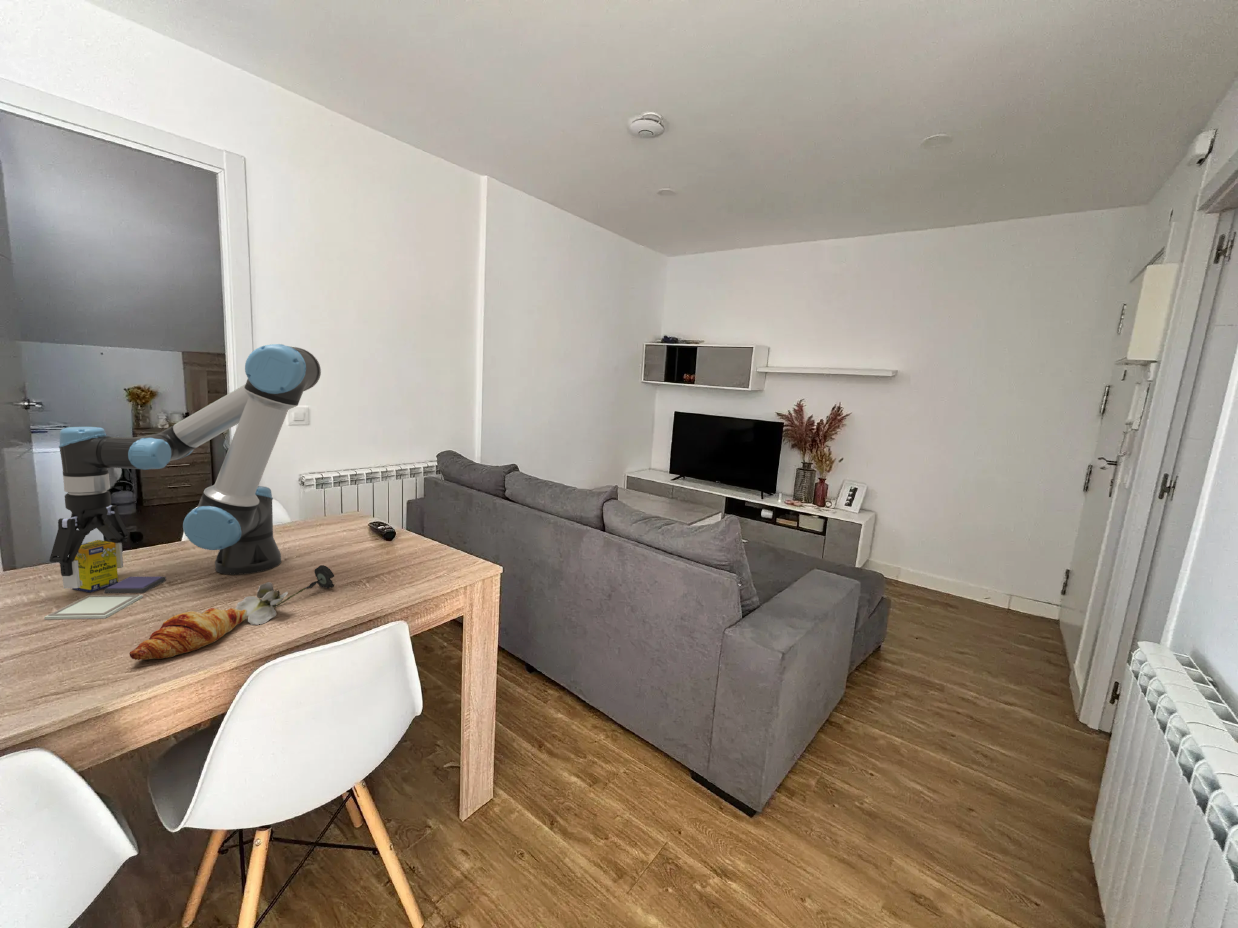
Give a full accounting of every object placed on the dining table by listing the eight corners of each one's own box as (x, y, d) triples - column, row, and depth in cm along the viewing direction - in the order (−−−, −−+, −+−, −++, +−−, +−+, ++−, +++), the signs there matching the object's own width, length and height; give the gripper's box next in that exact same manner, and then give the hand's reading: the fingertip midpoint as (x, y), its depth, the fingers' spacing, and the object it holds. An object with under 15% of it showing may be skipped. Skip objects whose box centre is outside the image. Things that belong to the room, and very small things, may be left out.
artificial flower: (342, 594, 131) (345, 563, 127) (254, 642, 110) (254, 606, 107) (318, 580, 133) (320, 548, 130) (227, 623, 113) (227, 587, 109)
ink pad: (165, 580, 129) (165, 575, 129) (143, 592, 121) (142, 588, 121) (129, 580, 127) (129, 575, 127) (104, 593, 120) (103, 588, 119)
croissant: (237, 631, 113) (224, 598, 113) (267, 619, 110) (253, 586, 110) (123, 680, 93) (107, 640, 93) (156, 667, 90) (140, 626, 90)
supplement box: (90, 593, 119) (86, 549, 118) (71, 589, 120) (67, 546, 119) (119, 584, 125) (116, 542, 123) (101, 580, 126) (97, 539, 124)
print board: (142, 597, 119) (142, 594, 119) (105, 618, 108) (105, 614, 108) (88, 597, 117) (87, 594, 117) (44, 619, 106) (44, 615, 106)
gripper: (110, 481, 130) (116, 559, 133) (18, 503, 106) (28, 598, 110) (143, 482, 132) (149, 559, 135) (60, 504, 108) (69, 597, 111)
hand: (95, 577), depth 122 cm, fingers open, 12 cm apart
